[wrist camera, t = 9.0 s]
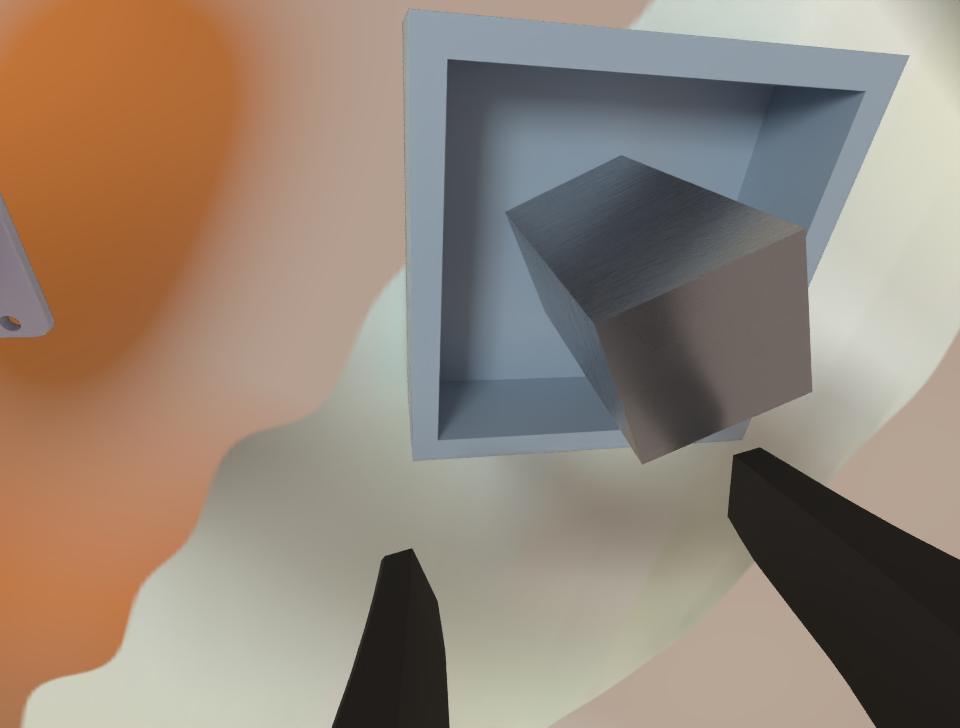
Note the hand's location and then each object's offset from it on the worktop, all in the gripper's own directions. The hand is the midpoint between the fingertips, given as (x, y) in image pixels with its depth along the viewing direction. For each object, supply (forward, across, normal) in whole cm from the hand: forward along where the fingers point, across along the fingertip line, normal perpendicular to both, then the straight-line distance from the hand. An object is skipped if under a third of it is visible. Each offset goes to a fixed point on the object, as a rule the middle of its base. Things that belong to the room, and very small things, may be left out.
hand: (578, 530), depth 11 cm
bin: (+9, -4, -3) cm, 10 cm away
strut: (+9, -3, -3) cm, 10 cm away
